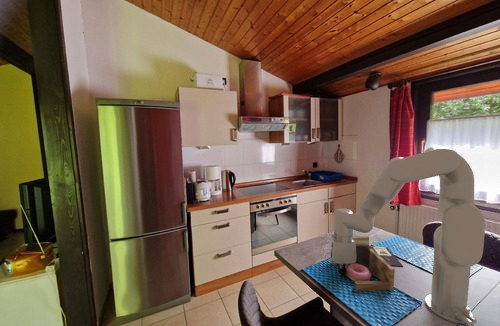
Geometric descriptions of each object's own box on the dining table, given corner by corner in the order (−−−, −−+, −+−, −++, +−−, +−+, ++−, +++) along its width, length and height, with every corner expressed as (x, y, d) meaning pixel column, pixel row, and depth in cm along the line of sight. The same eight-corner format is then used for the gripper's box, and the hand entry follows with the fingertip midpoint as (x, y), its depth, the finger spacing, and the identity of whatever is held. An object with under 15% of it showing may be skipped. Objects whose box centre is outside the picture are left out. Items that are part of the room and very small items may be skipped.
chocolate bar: (382, 264, 105) (370, 246, 123) (382, 266, 106) (370, 247, 123) (403, 266, 104) (387, 247, 121) (403, 267, 104) (387, 249, 121)
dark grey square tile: (369, 267, 104) (370, 246, 103) (346, 268, 104) (347, 246, 103) (368, 266, 105) (368, 245, 103) (345, 267, 105) (346, 245, 103)
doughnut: (372, 287, 90) (372, 278, 90) (344, 280, 95) (344, 272, 95) (370, 272, 100) (370, 264, 100) (344, 267, 105) (344, 259, 104)
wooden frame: (393, 289, 89) (395, 255, 87) (356, 290, 89) (357, 256, 87) (365, 259, 110) (366, 232, 109) (335, 260, 110) (335, 233, 109)
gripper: (329, 241, 91) (329, 281, 93) (364, 240, 91) (363, 280, 93) (323, 233, 99) (323, 270, 101) (355, 232, 99) (354, 269, 101)
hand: (342, 275), depth 97 cm, fingers closed
